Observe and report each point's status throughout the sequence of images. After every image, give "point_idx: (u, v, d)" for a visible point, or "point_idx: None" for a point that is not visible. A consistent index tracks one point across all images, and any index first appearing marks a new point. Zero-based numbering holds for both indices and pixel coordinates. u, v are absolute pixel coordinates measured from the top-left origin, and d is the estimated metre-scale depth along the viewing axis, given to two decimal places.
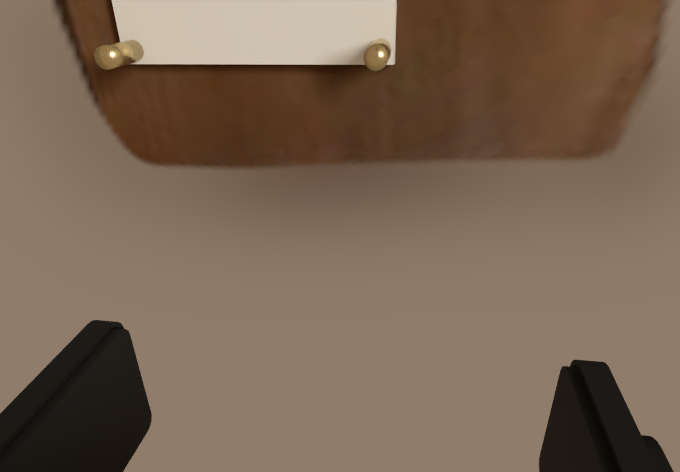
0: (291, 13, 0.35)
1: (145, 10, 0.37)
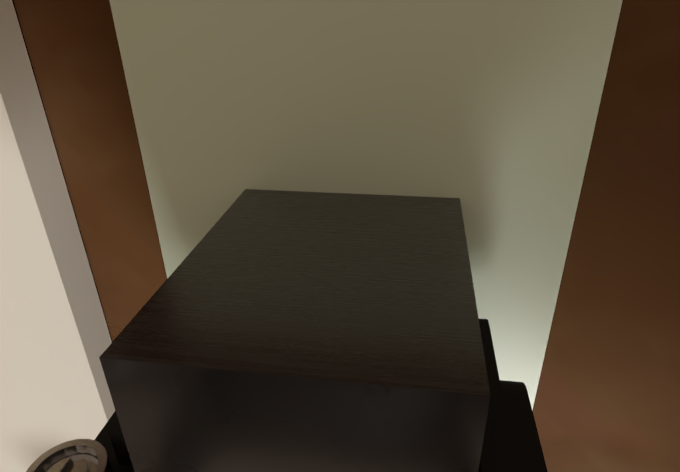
0: None
1: None
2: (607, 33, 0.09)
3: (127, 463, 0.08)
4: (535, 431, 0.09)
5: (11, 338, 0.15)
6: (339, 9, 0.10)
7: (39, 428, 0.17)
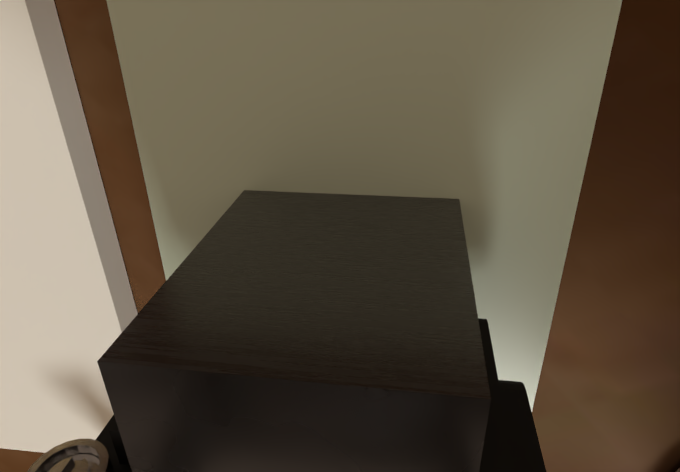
0: None
1: None
2: (607, 33, 0.09)
3: (128, 463, 0.08)
4: (534, 431, 0.09)
5: (41, 271, 0.18)
6: (338, 9, 0.10)
7: (64, 356, 0.20)
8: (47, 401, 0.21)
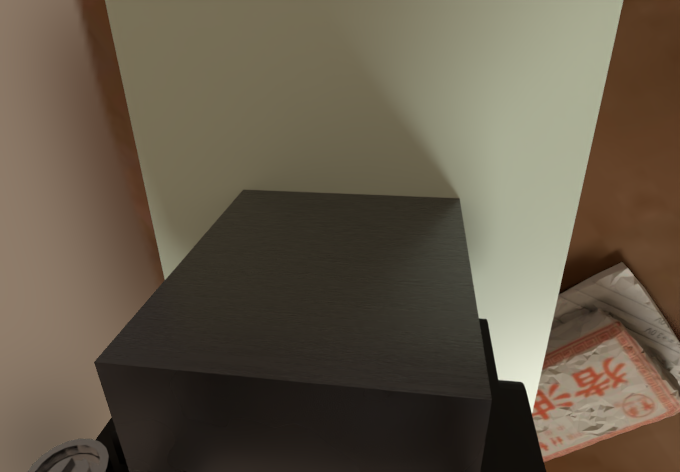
0: None
1: None
2: (608, 31, 0.09)
3: None
4: (534, 431, 0.09)
5: None
6: (337, 7, 0.10)
7: None
8: None
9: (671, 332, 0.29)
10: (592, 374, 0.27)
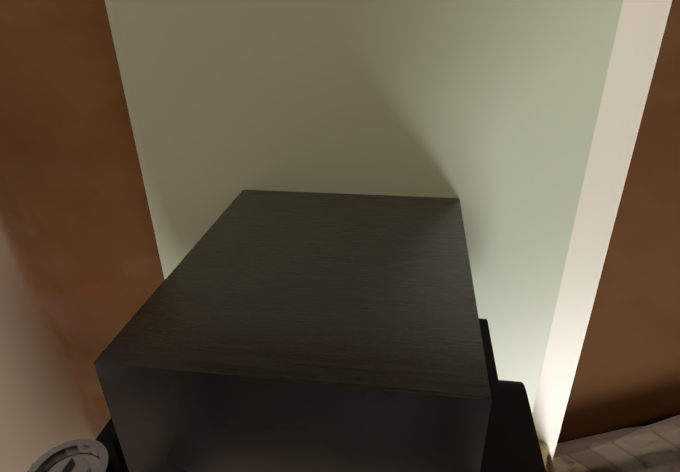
0: None
1: None
2: (608, 31, 0.09)
3: None
4: (534, 431, 0.09)
5: None
6: (337, 8, 0.10)
7: None
8: None
9: None
10: None
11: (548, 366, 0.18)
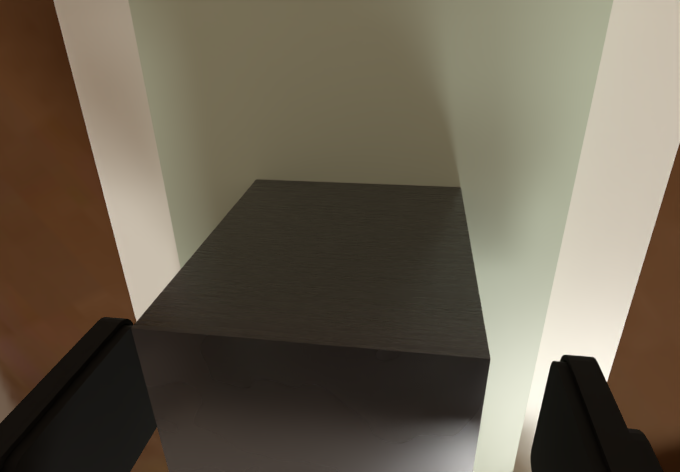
0: None
1: None
2: (599, 30, 0.10)
3: None
4: None
5: None
6: (347, 7, 0.10)
7: None
8: None
9: None
10: None
11: None
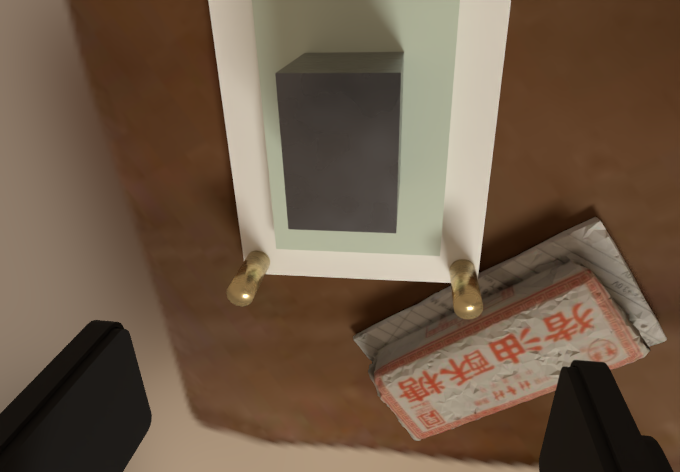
0: None
1: None
2: None
3: None
4: None
5: (450, 127, 0.27)
6: None
7: None
8: None
9: (636, 286, 0.30)
10: (562, 319, 0.29)
11: (469, 203, 0.29)
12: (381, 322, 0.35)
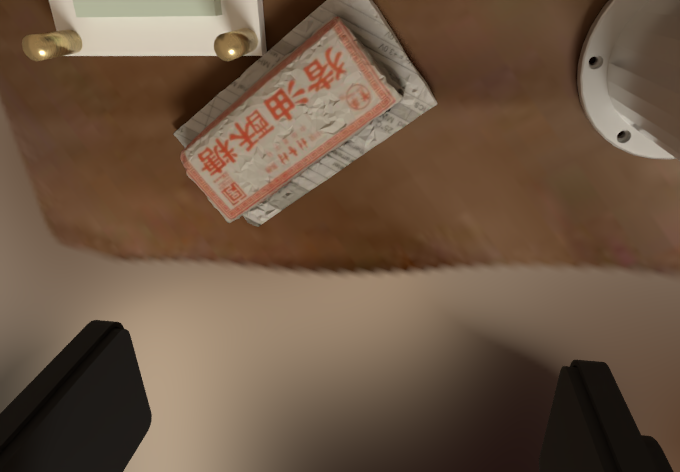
0: None
1: None
2: None
3: None
4: None
5: None
6: None
7: None
8: None
9: (400, 47, 0.33)
10: (318, 66, 0.31)
11: None
12: (195, 114, 0.38)
